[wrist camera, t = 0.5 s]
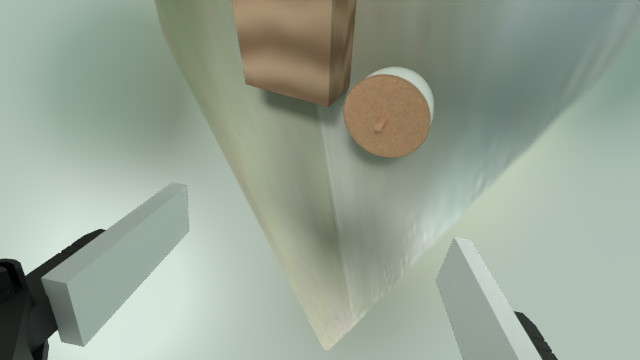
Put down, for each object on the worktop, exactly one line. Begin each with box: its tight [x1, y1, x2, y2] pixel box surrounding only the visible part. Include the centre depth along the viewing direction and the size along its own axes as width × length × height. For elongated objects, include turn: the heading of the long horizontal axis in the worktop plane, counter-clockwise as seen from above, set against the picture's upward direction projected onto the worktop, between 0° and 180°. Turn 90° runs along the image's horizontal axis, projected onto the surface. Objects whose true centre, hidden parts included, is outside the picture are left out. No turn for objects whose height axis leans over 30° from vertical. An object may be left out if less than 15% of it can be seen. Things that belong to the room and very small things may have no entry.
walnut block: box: [232, 0, 356, 107], centre depth 39 cm, size 14×14×7 cm
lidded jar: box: [343, 67, 434, 158], centre depth 37 cm, size 11×11×9 cm
